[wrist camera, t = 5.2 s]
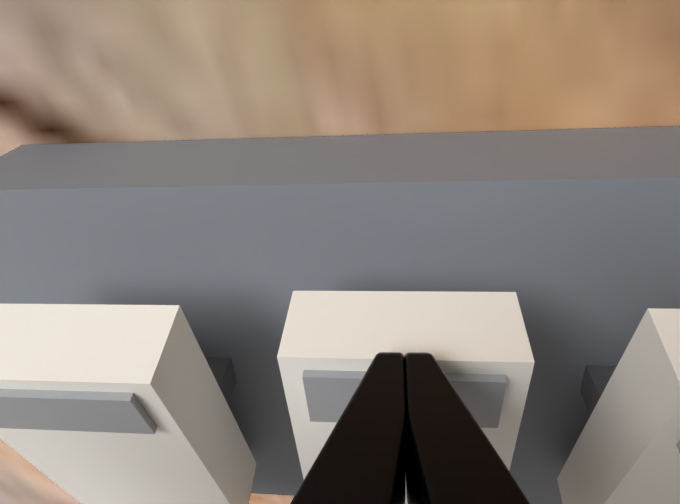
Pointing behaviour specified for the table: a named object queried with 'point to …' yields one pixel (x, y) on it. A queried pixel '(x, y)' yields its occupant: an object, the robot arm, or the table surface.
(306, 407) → the block
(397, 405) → the robot arm
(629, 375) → the rocker
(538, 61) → the table surface
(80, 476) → the rocker
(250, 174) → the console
